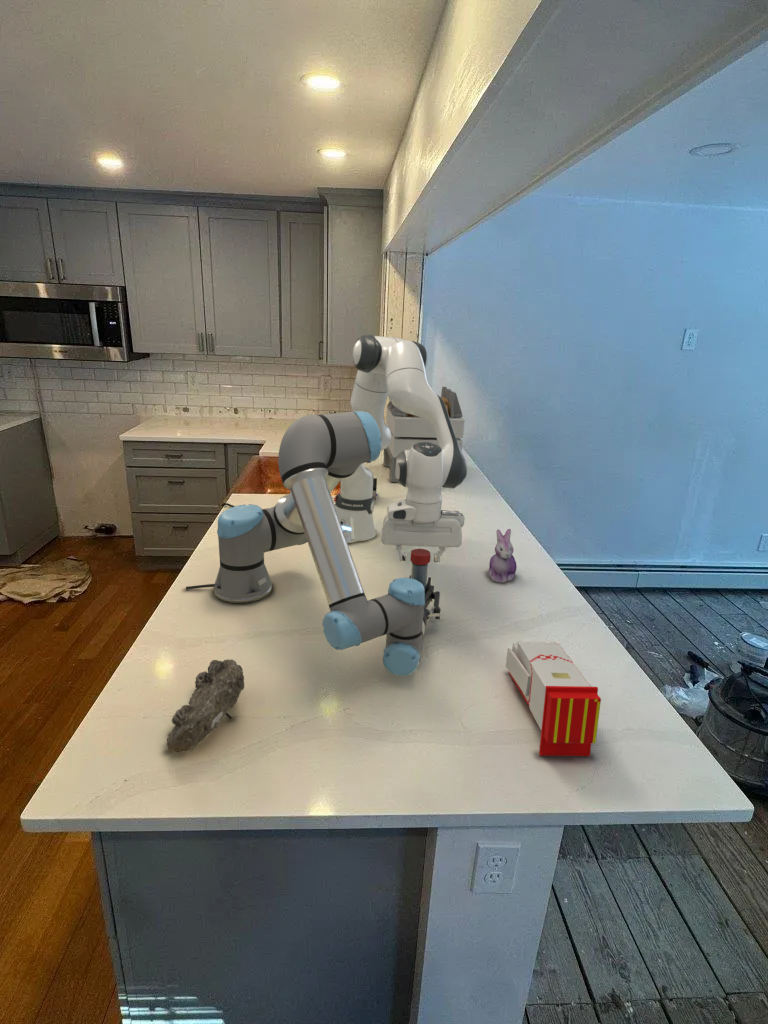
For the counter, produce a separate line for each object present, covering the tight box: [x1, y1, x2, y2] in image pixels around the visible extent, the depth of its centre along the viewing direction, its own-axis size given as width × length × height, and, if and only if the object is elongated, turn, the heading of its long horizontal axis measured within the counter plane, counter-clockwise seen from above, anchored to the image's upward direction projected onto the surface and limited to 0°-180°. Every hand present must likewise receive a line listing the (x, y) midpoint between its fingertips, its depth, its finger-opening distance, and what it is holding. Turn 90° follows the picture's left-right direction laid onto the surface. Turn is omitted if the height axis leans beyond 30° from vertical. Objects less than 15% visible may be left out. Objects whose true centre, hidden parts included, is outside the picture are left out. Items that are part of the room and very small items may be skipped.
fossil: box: [166, 658, 245, 754], centre depth 106 cm, size 22×10×15 cm
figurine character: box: [373, 477, 378, 500], centre depth 233 cm, size 7×8×15 cm
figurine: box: [488, 528, 518, 583], centre depth 168 cm, size 9×10×15 cm
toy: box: [505, 641, 602, 757], centre depth 113 cm, size 12×13×30 cm
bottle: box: [410, 562, 429, 594], centre depth 146 cm, size 4×4×16 cm
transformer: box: [383, 386, 465, 483], centre depth 268 cm, size 34×33×41 cm
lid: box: [409, 548, 432, 565], centre depth 144 cm, size 5×5×2 cm
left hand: (420, 580), depth 152 cm, fingers closed on bottle, 4 cm apart
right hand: (419, 560), depth 144 cm, fingers open, 7 cm apart
